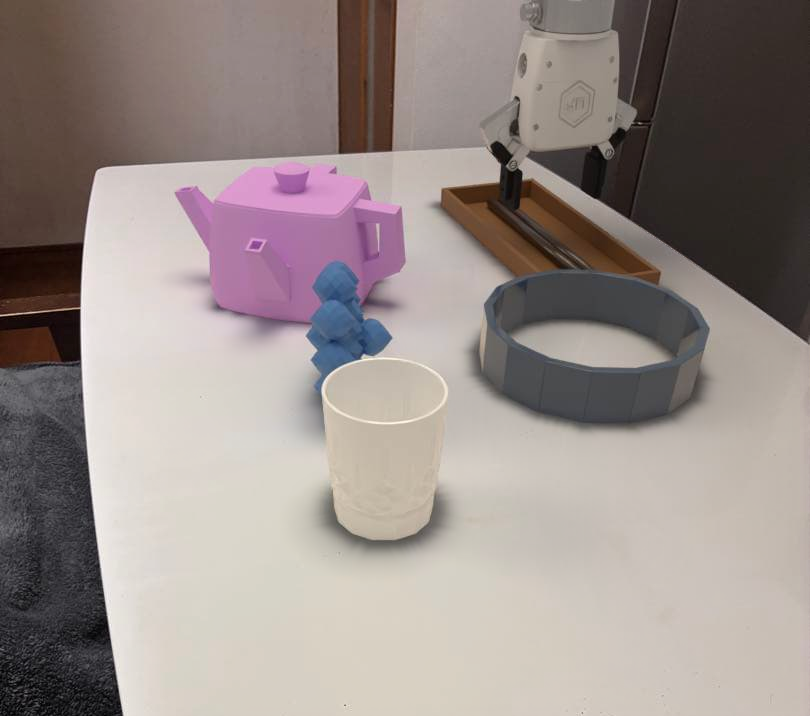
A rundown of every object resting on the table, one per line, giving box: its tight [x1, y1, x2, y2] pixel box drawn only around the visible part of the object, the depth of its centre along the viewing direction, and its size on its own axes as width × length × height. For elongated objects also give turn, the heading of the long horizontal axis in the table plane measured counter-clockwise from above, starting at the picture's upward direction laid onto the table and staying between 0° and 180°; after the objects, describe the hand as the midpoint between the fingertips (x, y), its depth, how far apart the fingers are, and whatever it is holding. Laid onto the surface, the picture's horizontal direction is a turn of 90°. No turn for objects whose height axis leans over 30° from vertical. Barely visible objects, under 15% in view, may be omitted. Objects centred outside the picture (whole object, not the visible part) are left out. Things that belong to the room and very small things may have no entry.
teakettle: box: [174, 161, 407, 324], centre depth 81 cm, size 17×17×12 cm
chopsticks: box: [487, 198, 596, 270], centre depth 94 cm, size 3×24×1 cm, turn 21°
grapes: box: [305, 261, 393, 397], centre depth 66 cm, size 12×7×12 cm, turn 0°
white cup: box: [321, 356, 450, 541], centre depth 56 cm, size 8×8×10 cm
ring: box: [478, 269, 711, 424], centre depth 74 cm, size 19×19×5 cm
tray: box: [440, 178, 662, 286], centre depth 94 cm, size 28×12×2 cm, turn 21°
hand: (550, 200), depth 91 cm, fingers open, 9 cm apart
